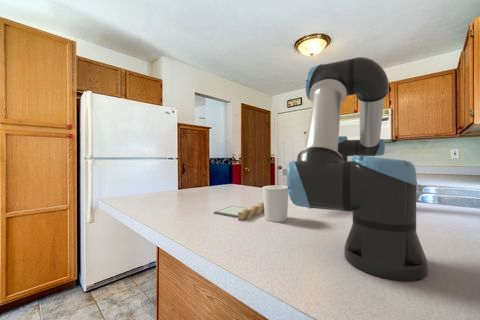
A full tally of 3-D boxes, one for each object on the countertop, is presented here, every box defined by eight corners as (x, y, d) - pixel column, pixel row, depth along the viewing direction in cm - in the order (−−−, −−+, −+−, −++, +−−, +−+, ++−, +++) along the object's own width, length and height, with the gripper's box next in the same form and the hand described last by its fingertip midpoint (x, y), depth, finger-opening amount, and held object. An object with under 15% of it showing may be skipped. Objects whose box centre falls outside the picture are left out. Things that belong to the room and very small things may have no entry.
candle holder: (258, 216, 86) (258, 186, 86) (281, 214, 89) (281, 184, 89) (269, 223, 77) (269, 189, 77) (294, 221, 80) (293, 188, 80)
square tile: (239, 218, 84) (239, 216, 84) (213, 213, 91) (213, 211, 91) (256, 211, 95) (256, 209, 95) (232, 207, 102) (232, 205, 102)
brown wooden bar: (242, 221, 80) (242, 212, 80) (238, 220, 82) (238, 212, 82) (267, 209, 97) (267, 202, 97) (263, 209, 98) (263, 202, 98)
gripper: (353, 181, 90) (320, 186, 78) (304, 176, 111) (273, 179, 99) (353, 162, 90) (320, 165, 78) (304, 161, 111) (272, 163, 99)
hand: (293, 173), depth 89 cm, fingers open, 13 cm apart
